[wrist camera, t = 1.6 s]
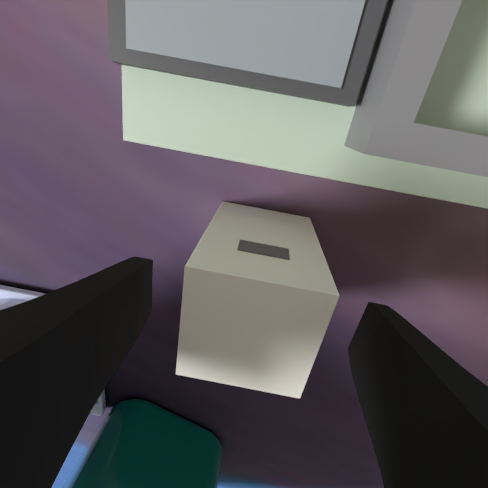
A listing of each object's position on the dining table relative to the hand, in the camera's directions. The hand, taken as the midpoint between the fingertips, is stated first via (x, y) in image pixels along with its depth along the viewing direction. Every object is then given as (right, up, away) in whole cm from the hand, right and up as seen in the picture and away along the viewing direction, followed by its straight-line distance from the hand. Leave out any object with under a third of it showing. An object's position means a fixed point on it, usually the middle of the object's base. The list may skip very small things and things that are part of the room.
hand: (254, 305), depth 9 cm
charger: (0, +2, +4) cm, 5 cm away
